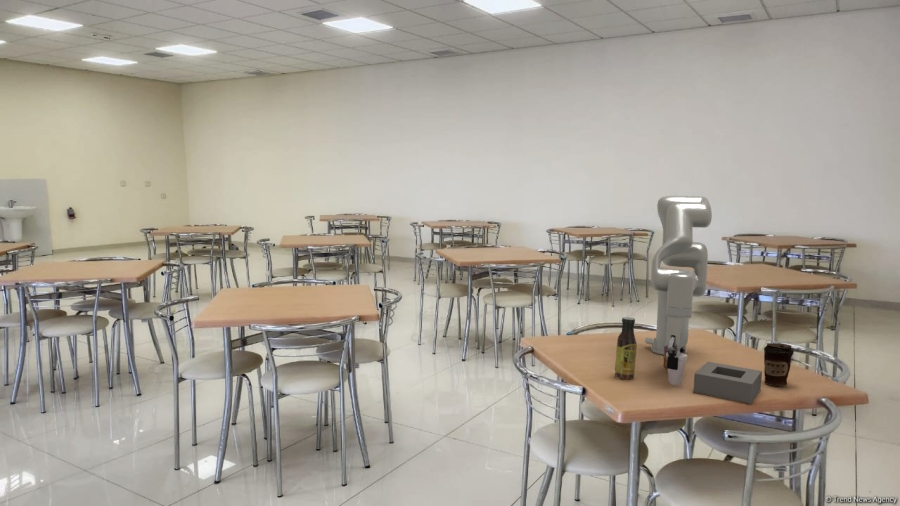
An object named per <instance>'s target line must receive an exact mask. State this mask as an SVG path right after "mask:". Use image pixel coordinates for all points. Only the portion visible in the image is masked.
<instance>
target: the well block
mask: <svg viewBox="0 0 900 506" xmlns="http://www.w3.org/2000/svg"><path fill="white" fill-rule="evenodd" d="M762 373H763V370H758V369H754V368H747V367H740V366H735V365H730V364H724V363H723V364H722V363H718V362H713V361H706V362H705V364H703V365H702V366H701V367H700V368H699V369H698V370H697V371H696V372H694V377H693V378H694V380H693V381H694V382H693V393H695V394H700V395H705V396H710V397H715V398H719V399H724V400H731V401H735V402H738V403H739V402H740V403H742V404H743V403H744V404H749V405H752V403H753V401H755V399H756V397H757V396H758V394H759V393H760V391H761V390H762Z"/></svg>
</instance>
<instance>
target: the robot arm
mask: <svg viewBox="0 0 900 506" xmlns="http://www.w3.org/2000/svg"><path fill="white" fill-rule="evenodd" d="M656 205H657V206H656V207H657V215H658V216H659V217H658V218H659V220H660V223H661V226H662V245H661V246H660V247H659V248H658V249H657V250H656V252H655V254H654V255H653V258H652V261H651V273H650V274H651V276H650V278H651V279H650V282H651V286H652V289H654V290H655V291H657V315H656V316H657V317H656V334H655V335H656V336H655V338H651V337H645V339H644V342H645V343H646V344H648V345H652V346H651V347H650V348H651V349H650V350H651V352H653V353H654V354H657V355H660V356H661V355H662V356H664V346H665V347H668V355H667V356H668V357H667V368H668V369H673V370H677V369H678V357H677V356H678V351H679V349H680V352H681V353H684V354H686V355H687V350H686V349H687V348H686V345H687V344H688V340H689V329H690V328H689V325H690V324H689V323H690V322H689V319H692V315H693V301H694V300H693V298H694V297H695V298H696V297H697V298H698V297H702V296H704V295H705V293H706V290H707V283H708V282H707V277H708V261H709V259H708V258H709V257H708V256H709V253H708V248H707V246H706V245H705V243H702V242H696V241H694V239H693V236H694V235H693V228H703V229H704V228H708V227H709V226H711V222H712V219H713V218H712V217H713V215H712V214H713V213H712V208H711V204H710V201H709V200H708V198H707V197H705V196H695V195H693V196H692V195H691V196H688V195H667V196H666V195H665V196H662V197H660V198H659V199H658V200H657V204H656ZM662 263H663V264H664V265H665V266H668V267H675V268H662V267H661V264H662ZM677 267H678V268H679V269H677ZM680 268H692V269H693V270H691V269H680ZM665 331H666V332H665ZM673 346H676V347H673ZM674 350H676V351H674Z"/></svg>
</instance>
